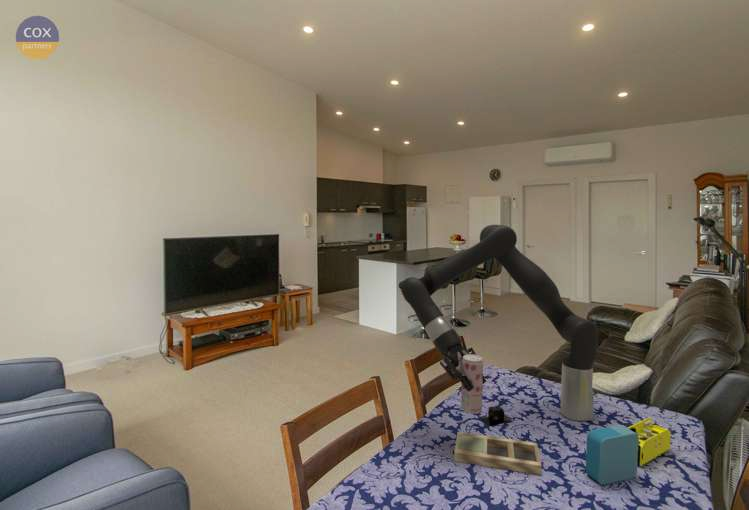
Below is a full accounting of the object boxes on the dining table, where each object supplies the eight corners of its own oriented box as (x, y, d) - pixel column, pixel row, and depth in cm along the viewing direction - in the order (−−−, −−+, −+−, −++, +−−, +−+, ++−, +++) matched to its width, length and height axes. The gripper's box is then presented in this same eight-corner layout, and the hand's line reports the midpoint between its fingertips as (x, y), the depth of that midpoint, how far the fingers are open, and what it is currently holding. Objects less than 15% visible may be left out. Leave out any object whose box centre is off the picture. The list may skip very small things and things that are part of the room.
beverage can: (485, 413, 108) (487, 360, 107) (466, 415, 107) (467, 361, 106) (476, 403, 114) (477, 353, 113) (457, 405, 113) (458, 354, 111)
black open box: (506, 413, 135) (506, 401, 134) (519, 424, 128) (519, 410, 127) (473, 419, 131) (473, 405, 131) (485, 430, 124) (486, 416, 124)
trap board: (536, 451, 112) (536, 442, 111) (541, 475, 101) (541, 465, 101) (457, 439, 118) (457, 431, 118) (454, 461, 107) (454, 451, 107)
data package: (621, 467, 104) (623, 423, 104) (637, 477, 100) (639, 432, 99) (584, 475, 101) (586, 430, 100) (599, 486, 97) (601, 439, 96)
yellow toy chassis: (648, 442, 117) (650, 415, 116) (671, 451, 112) (672, 423, 111) (619, 458, 108) (620, 429, 108) (641, 469, 104) (643, 439, 103)
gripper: (435, 332, 109) (471, 387, 101) (464, 323, 119) (499, 373, 111) (420, 347, 113) (454, 400, 106) (449, 337, 123) (482, 385, 116)
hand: (477, 386), depth 109 cm, fingers closed on beverage can, 5 cm apart
